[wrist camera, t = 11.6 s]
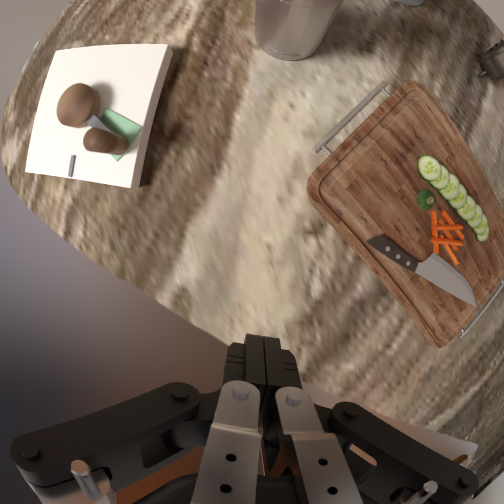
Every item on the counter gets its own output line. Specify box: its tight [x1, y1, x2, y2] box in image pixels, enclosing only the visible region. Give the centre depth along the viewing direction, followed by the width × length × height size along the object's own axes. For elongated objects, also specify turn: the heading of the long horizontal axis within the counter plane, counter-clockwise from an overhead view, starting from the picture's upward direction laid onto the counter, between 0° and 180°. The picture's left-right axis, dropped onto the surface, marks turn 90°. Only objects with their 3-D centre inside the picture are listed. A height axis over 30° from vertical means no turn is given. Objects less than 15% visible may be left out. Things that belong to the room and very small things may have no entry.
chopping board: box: [307, 80, 504, 348], centre depth 37 cm, size 45×27×3 cm, turn 46°
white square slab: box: [25, 44, 173, 188], centre depth 32 cm, size 20×20×3 cm
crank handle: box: [56, 83, 129, 155], centre depth 28 cm, size 13×6×7 cm, turn 45°
